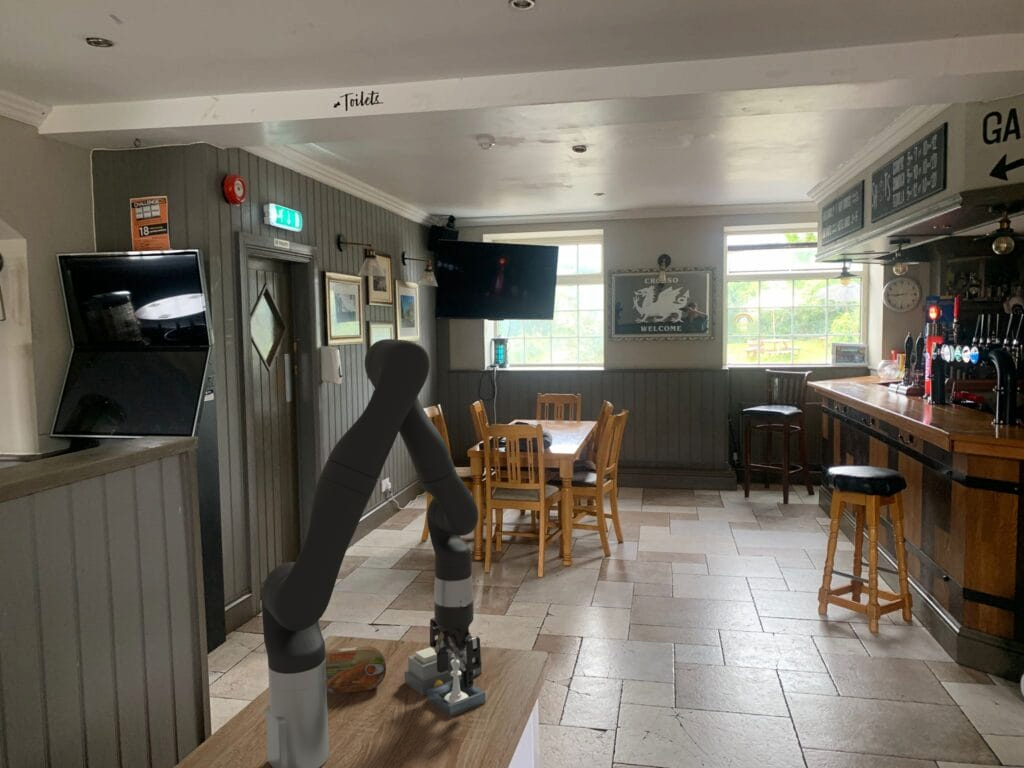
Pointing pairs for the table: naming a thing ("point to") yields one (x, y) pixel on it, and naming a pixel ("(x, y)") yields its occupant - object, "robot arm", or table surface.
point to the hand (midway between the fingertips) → (454, 679)
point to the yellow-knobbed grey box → (430, 673)
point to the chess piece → (455, 683)
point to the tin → (354, 669)
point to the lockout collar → (459, 706)
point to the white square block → (426, 655)
